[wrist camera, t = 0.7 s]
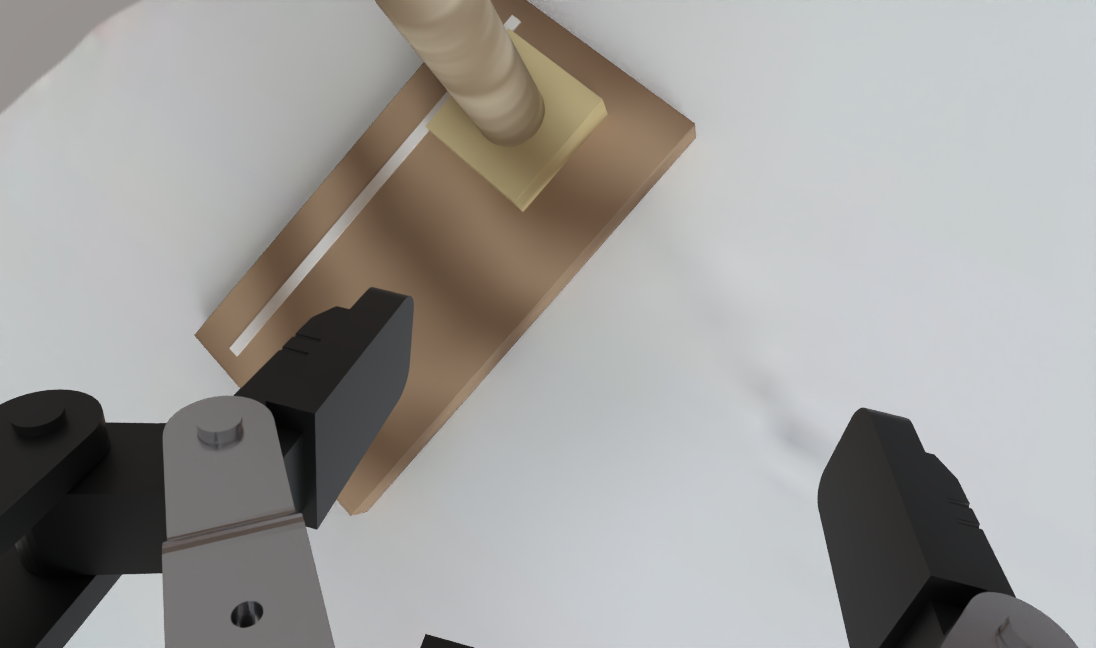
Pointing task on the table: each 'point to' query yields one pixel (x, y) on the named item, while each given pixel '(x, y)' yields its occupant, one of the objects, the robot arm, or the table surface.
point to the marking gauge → (497, 94)
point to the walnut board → (447, 243)
